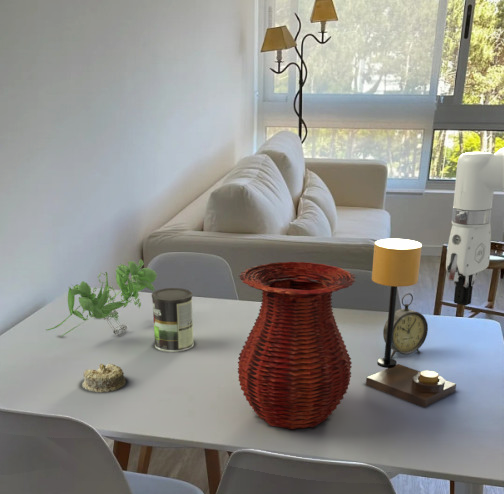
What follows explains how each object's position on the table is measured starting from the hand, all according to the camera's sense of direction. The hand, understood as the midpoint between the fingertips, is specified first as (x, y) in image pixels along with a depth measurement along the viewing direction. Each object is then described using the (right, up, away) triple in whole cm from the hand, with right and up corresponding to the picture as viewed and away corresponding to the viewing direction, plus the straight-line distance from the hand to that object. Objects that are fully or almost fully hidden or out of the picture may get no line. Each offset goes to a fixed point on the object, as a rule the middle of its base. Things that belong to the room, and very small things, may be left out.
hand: (462, 303), depth 151 cm
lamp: (-14, -12, +12) cm, 22 cm away
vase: (-36, -24, -3) cm, 44 cm away
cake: (-79, -17, +11) cm, 82 cm away
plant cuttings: (-86, -2, +42) cm, 96 cm away
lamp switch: (-6, -17, +5) cm, 18 cm away
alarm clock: (-7, -9, +28) cm, 31 cm away
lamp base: (-9, -18, +9) cm, 22 cm away
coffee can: (-65, -7, +33) cm, 74 cm away
